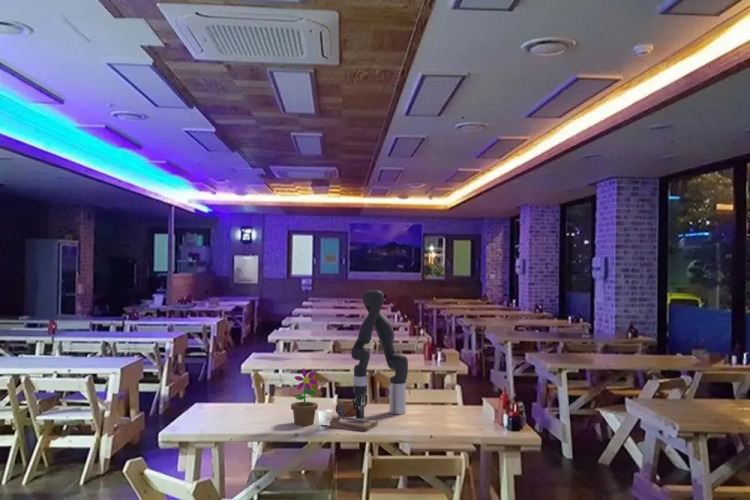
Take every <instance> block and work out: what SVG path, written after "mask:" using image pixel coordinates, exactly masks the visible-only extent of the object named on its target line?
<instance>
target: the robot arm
mask: <svg viewBox="0 0 750 500" xmlns="http://www.w3.org/2000/svg"><path fill="white" fill-rule="evenodd" d="M384 300H385V295H384V292H383V291H381V290H377V289H376V290H374V289H367V290H365V291H364V292H363V293H362V302H363V304H364V308H365V309H366V312H367V313H368V315H367V316H366V318H365V319H364V320H363V322H362V323H361V325H360V327H359V331H358V335H357V339H356V340H355V343H354V345H353V347H352V349H351V352H350V355H351V358H352V359H353V360H356V361H359V362H358V364H355V365H354V367H353V380H352V382H353V384H352V386H353V387H352V388H353V389H352V392H353V394H355V397H354V398H352V400H353V406H354V409H355V410H356V415H355V417H360V407H361V404H362V403H365V405H364V409H365V408H366V406H367V404H368V403H367V402H368V395H367V393H368V374H367V373H368V372H367V370H368V366H369V362H370V358H371V353H370V351H369V349H368V348H365V345H369V344H370V342H371V340H372V334H373V331H374V329H375V332H376V334H377V337H378V340H379V342H380V344H381V348H382V351H383V354H384V357H385V362H386V365H387V367H388V368H389V369H390V370H391V371H392V370H393V371H395V372H394V373H395V374H394V376H391V377H390V378H389V413H390V414H391V415H403V414H406V413H407V411H406V409H407V408H406V407H407V406H406V405H407V404H406V401H407V400H406V399H407V398H406V396H407V395H406V394H407V378H408V374H409V373H408V369H409V360H408V357H407V356H406V355H404V354H398V353H397V352H396V350H395V346H394V339H395V331H394V329H393V326H392V324H391V322H390V320H389V319H388V318H387V317H386V316H385V315H384V314H383V312H382V311H381V309H382V306H383V304H384ZM358 403H360V404H358ZM358 405H359V406H358ZM355 406H356V407H355Z"/></svg>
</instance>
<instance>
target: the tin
mask: <svg viewBox="0 0 750 500" xmlns="http://www.w3.org/2000/svg"><path fill="white" fill-rule="evenodd" d="M355 407H356V406H355ZM335 412H336V414H337V416H340V417H350V416H351V417H353V416H356V410H355V409H354V406H353V399H351V400H341V401H338V402H337V403H336V405H335Z"/></svg>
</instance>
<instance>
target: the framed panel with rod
mask: <svg viewBox="0 0 750 500" xmlns="http://www.w3.org/2000/svg"><path fill="white" fill-rule="evenodd" d="M341 420H346V421H354V422H355V421H356V422H362V424H361V423H353V422H346V421H341ZM378 422H379V421H378V420H377V419H376V420H375V419H371V420H370V419H365V420H364V419H356V418H355V417H349V416H343V417H342V416H340V415H335V414H334V415H332V418H331V421H330V426H331V428H337V429H345V430H351V431H352V430H353V431H360V432H368V431H370V430H372V429H374V428H375V427H377V426H378V425H379V423H378Z"/></svg>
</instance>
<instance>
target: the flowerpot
mask: <svg viewBox="0 0 750 500" xmlns="http://www.w3.org/2000/svg"><path fill="white" fill-rule="evenodd" d="M315 374H316V371H315V370H312V371H310V373H308V374H307V370H306V368H302V370H301V375H302V376H300V375H296V376H294V379H295V380H296V381H299V384H298V385H297V386H296V387H297V390H301V389H302V388H303V395H298V396H296V397H295V400H298V401H296V402H293V403H291V404H290V409H291V410H292V411H293V414H292V415H293V422H294V425H295V426H297V425H298V426H297V427H311V426H314V424H315V417H316V415H315V414H316V411H317V410H318V409H319V407H318V406H319V404H318V403H317V402H314V401H306V398H307V397H306V395H308V396H312V395H315V394H316V393H317V391H315V390H314V389H311V385H318V383H319V382H318V381H317V380H316V379H312V378H313V377H314V376H315ZM310 384H311V385H310ZM300 400H301V401H300ZM302 400H303V401H302Z"/></svg>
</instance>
